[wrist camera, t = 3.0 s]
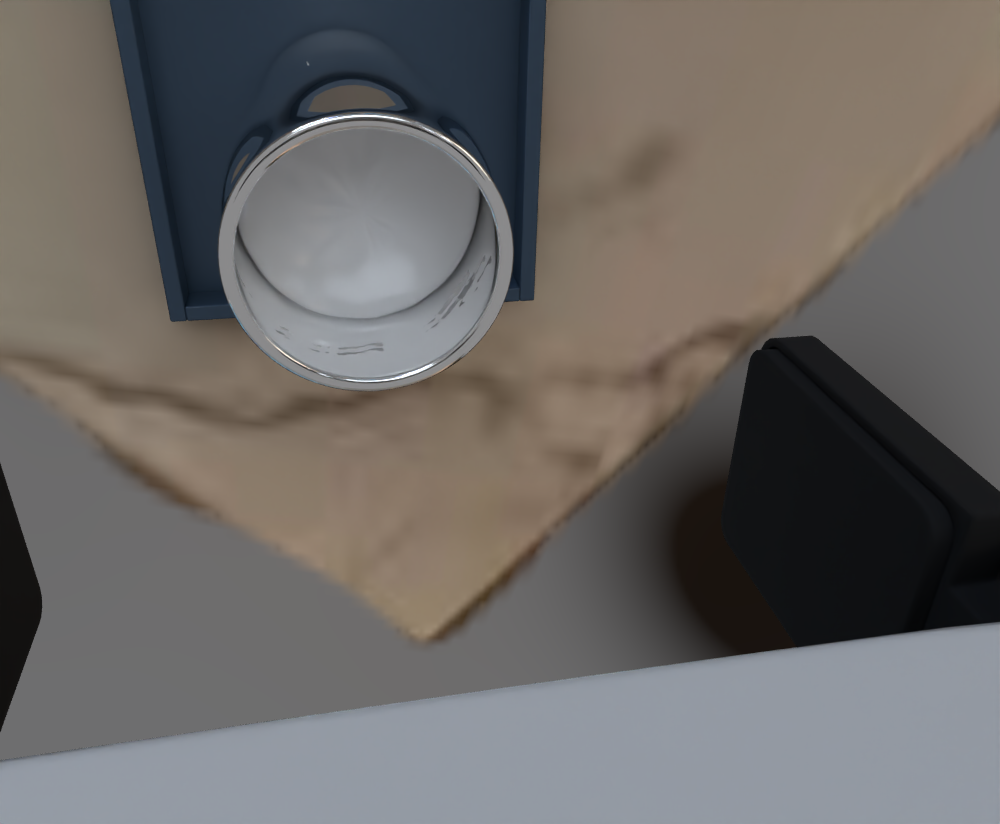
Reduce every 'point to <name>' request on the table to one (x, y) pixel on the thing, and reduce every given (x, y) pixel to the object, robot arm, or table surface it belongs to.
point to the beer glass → (360, 220)
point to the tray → (236, 89)
